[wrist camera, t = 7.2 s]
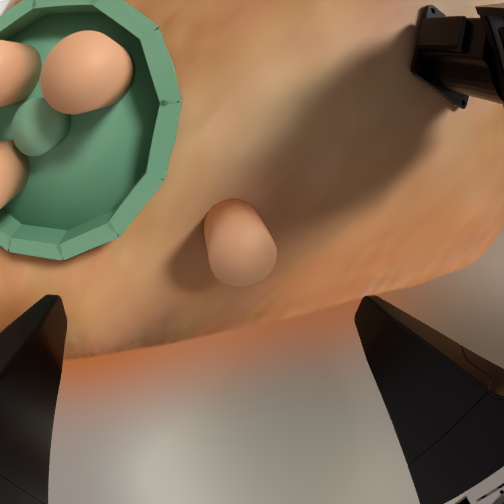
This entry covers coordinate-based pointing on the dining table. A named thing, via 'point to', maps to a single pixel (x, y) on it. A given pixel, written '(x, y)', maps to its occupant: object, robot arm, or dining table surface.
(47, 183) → the ring tray
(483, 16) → the robot arm
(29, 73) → the bead
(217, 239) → the bead
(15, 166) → the bead
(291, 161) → the dining table surface
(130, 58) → the bead
